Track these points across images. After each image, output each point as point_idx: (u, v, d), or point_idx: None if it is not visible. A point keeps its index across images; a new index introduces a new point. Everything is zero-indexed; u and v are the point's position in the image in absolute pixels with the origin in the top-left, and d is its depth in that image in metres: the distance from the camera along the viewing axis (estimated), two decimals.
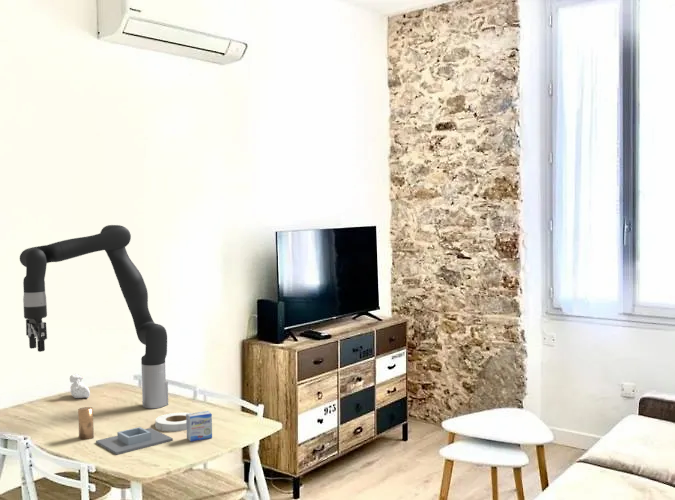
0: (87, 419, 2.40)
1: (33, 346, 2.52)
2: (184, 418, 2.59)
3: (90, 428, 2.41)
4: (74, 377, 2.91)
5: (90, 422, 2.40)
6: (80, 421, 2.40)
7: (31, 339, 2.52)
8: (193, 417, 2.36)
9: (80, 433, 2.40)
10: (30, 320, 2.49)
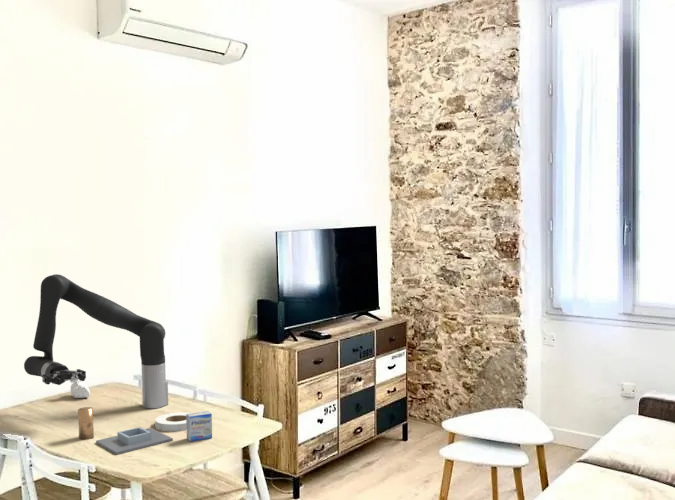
0: (87, 419, 2.40)
1: (82, 377, 2.53)
2: (184, 418, 2.59)
3: (90, 428, 2.41)
4: None
5: (89, 422, 2.40)
6: (80, 421, 2.40)
7: (79, 378, 2.55)
8: (193, 417, 2.36)
9: (80, 433, 2.40)
10: None
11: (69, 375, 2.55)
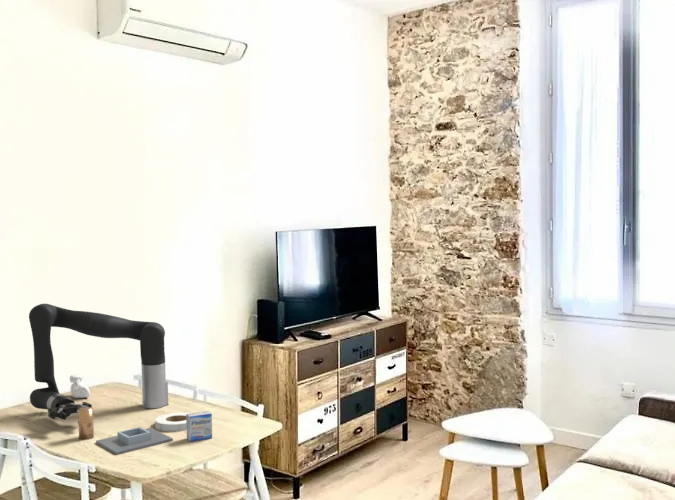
0: (87, 419, 2.40)
1: None
2: (184, 418, 2.59)
3: (90, 428, 2.41)
4: (74, 377, 2.91)
5: (90, 422, 2.40)
6: (80, 421, 2.40)
7: None
8: (193, 417, 2.36)
9: (80, 433, 2.40)
10: None
11: (75, 409, 2.52)
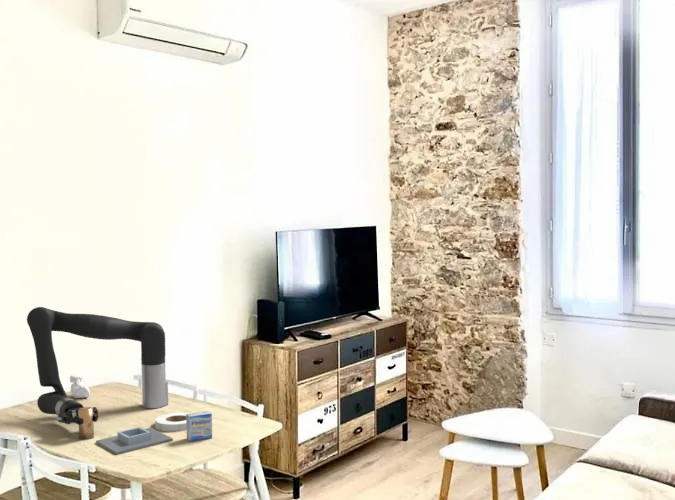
0: (87, 419, 2.40)
1: (94, 418, 2.42)
2: (184, 418, 2.59)
3: (90, 428, 2.41)
4: (74, 377, 2.91)
5: (90, 422, 2.40)
6: None
7: None
8: (193, 417, 2.36)
9: (80, 433, 2.40)
10: None
11: None
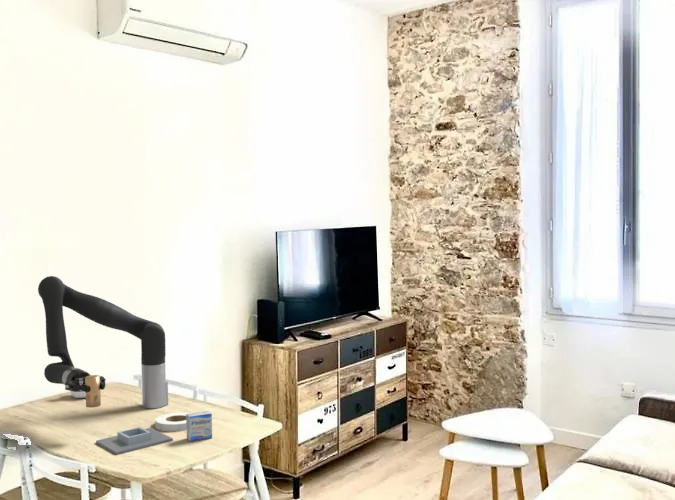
0: (94, 387, 2.38)
1: (101, 386, 2.40)
2: (184, 418, 2.59)
3: (97, 395, 2.39)
4: None
5: (97, 389, 2.39)
6: None
7: None
8: (193, 417, 2.36)
9: (87, 401, 2.38)
10: None
11: None
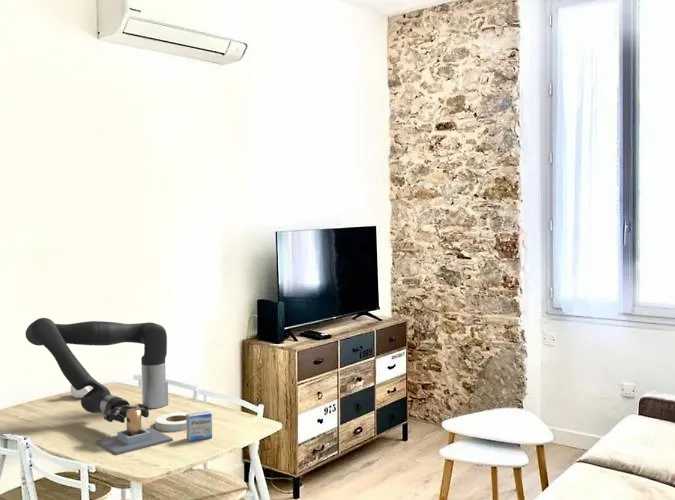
0: (136, 421, 2.34)
1: (145, 414, 2.38)
2: (184, 418, 2.59)
3: (139, 429, 2.35)
4: None
5: (138, 423, 2.35)
6: (128, 423, 2.34)
7: (142, 414, 2.40)
8: (193, 417, 2.36)
9: (128, 435, 2.35)
10: None
11: None
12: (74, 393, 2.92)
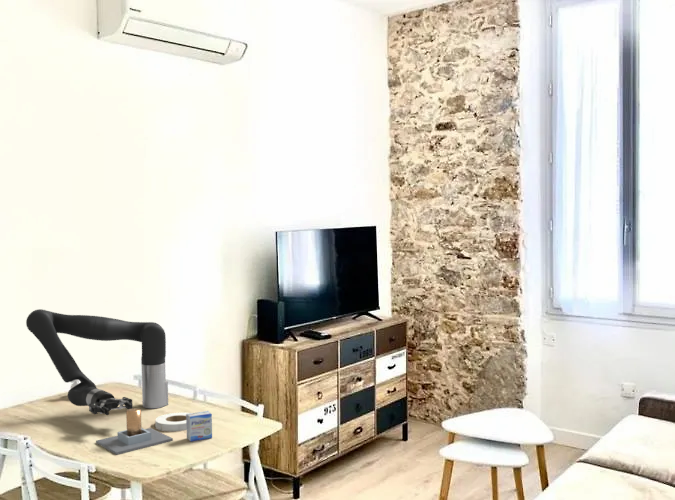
0: (136, 421, 2.34)
1: (129, 406, 2.48)
2: (184, 418, 2.59)
3: (139, 429, 2.35)
4: None
5: (138, 423, 2.35)
6: (128, 423, 2.34)
7: (126, 406, 2.50)
8: (193, 417, 2.36)
9: (128, 435, 2.35)
10: None
11: (116, 404, 2.50)
12: None
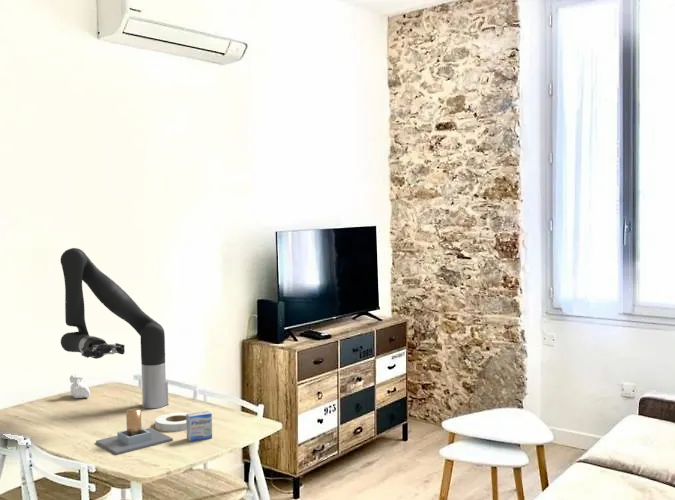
0: (136, 421, 2.34)
1: (121, 351, 2.50)
2: (184, 418, 2.59)
3: (139, 429, 2.35)
4: (74, 377, 2.91)
5: (138, 423, 2.35)
6: (128, 423, 2.34)
7: (118, 351, 2.52)
8: (193, 417, 2.36)
9: (128, 435, 2.35)
10: None
11: (108, 349, 2.53)
12: (74, 393, 2.92)
